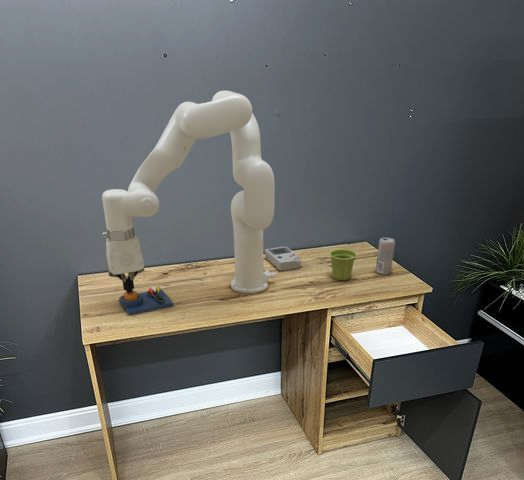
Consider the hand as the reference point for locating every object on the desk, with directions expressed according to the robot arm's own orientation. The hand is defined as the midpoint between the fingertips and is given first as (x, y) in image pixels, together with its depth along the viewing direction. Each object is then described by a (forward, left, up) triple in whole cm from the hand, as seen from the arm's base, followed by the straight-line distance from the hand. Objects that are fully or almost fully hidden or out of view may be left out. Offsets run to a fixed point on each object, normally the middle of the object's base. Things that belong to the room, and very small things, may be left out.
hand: (129, 291), depth 159 cm
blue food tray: (-5, 0, -5) cm, 7 cm away
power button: (0, 0, -3) cm, 3 cm away
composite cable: (-8, 0, -4) cm, 9 cm away
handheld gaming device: (-60, -10, -5) cm, 61 cm away
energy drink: (-88, +14, -5) cm, 89 cm away
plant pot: (-72, +11, -5) cm, 73 cm away
